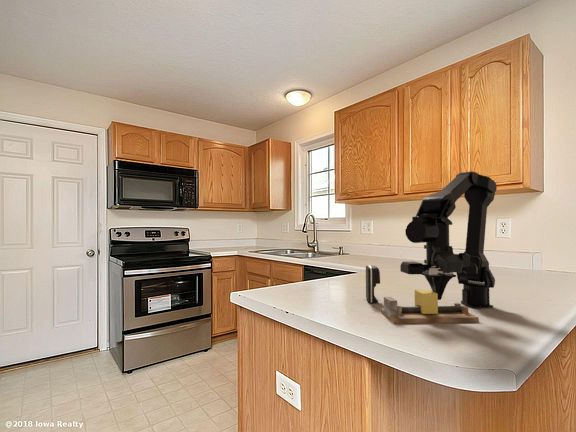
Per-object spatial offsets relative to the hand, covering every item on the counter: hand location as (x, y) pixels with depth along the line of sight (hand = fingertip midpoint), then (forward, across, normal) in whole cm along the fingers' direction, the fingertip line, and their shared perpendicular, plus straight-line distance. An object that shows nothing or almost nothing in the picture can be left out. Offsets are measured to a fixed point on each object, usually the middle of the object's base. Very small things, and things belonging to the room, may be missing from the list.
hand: (438, 299), depth 86 cm
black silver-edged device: (+5, -12, +18) cm, 22 cm away
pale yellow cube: (+3, -3, 0) cm, 5 cm away
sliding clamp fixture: (+5, -3, 0) cm, 6 cm away
